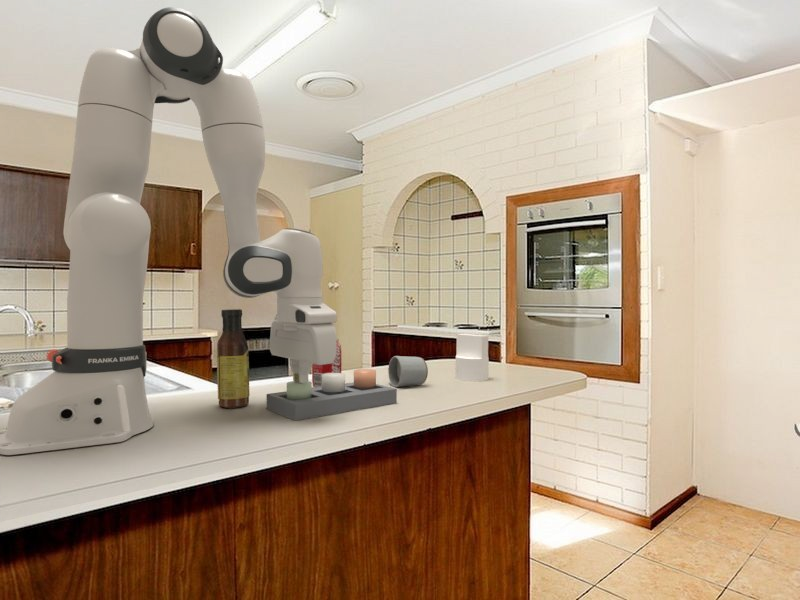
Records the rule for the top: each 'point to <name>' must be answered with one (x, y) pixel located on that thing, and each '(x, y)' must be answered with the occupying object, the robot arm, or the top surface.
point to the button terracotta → (364, 378)
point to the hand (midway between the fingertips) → (300, 382)
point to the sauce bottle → (232, 362)
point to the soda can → (326, 367)
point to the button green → (298, 391)
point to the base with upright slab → (472, 357)
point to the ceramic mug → (407, 371)
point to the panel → (331, 401)
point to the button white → (333, 382)
